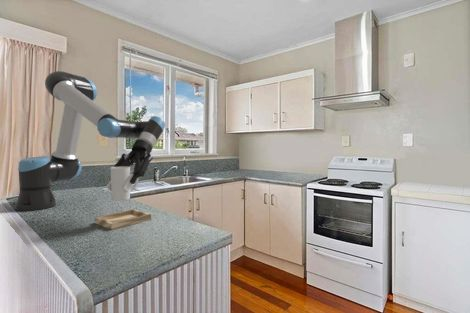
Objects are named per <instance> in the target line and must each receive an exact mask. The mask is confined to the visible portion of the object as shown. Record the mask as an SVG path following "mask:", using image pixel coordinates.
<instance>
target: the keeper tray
mask: <svg viewBox="0 0 470 313" xmlns="http://www.w3.org/2000/svg"><path fill="white" fill-rule="evenodd" d="M150 220H152V214H151V213H148V212H144V211H141V210H137V209H128V210H124V211H119V212H115V213H111V214H105V215H101V216H96V217H94V224H96V225H98V226H101V227H103V228H105V229H109V230H111V231H114V230H118V229H121V228H125V227H128V226H132V225H136V224H140V223H144V222H148V221H150Z"/></svg>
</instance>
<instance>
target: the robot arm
mask: <svg viewBox="0 0 470 313" xmlns="http://www.w3.org/2000/svg"><path fill="white" fill-rule="evenodd" d="M44 81H45V82H44V86H45V89H46V90H47V92H48V93H49V94H50V95H51V96H52V97H54V98H55V99H56V100H58V101H59V102H60V101H61V102H62V103H63V104H64V107H63V112H62V117H61V123H60V128H59V133H58V138H57V143H56V149H55V151H53V152H52V153H51V155H50V156H48V155H46V156H45V155H41V156H33V157H27V158H26V157H25V158H23V159H20V161H18V168H17V170H18V183H19V184H18V185H19V186H18V187H19V192H18V197H17V199H16V202H15V203H14V204H15V205H14V206H15V207H14V208H15V209H14V210H16V211H19V212H22V211H23V212H26V211H27V212H28V211H40V210H44V209H49V208H53V207H55V206H56V205H57V199H56V197H55V195H54V193H53V190H52V183H56V182H63V181H65V182H66V181H67V182H68V181H70V180H74V179H75V178H78V176H79V175H80V174H81V172H82V168H83V167H82V164H81V160H80V159H79V156H78V154H76V153H77V148H78V145H79V144H78V143H79V139H80V134H81V128H82V125H83V119H84V118H85V119H86V120H88V121H89V122H91V124H93V125H94V126H96V127H97V131H98V134H99V135H101V137H104V138H113V139H114V138H123V139H136V140H135V141H134V143H133V145H132V146H131V150H130V152H128V154H127V153H122V154H121V155H120V158H119V159H118V161H117V162H116V163H115V165H114V166H113V167H131V166H133V165H134V168H133V170H134V172H132V173H133V174H130V176H129V178H128V180H127V181H126V183H125V185H124V186H123V189H124V190H125V191H126V192H129V190H130V188H131V187H132V186H133V185H134V184H135V181H136V180H137V178H138V179H139V178H140V177H141V178H143V177H145V174H146V172H147V170H148V168H149V165H150V163H151V162H152V160H153V159H154V158H153V156H152V155H151V152H152V151H153V149H154V147H155V145H156V143H157V142H158V140H159V139H160V137H161V135H162V134H163V132H164V130H165V127H166V122H165V120H164V119H163V118H161V117H160V116H156V115H154V116H151V117H150V118H149V119H148V121H145V120H144V121H134V120H133V121H131V120H124V119H123V120H122V119H118V118H117V117H115V116H114V115H112V114H111V113H110V112H108V111H107V110H106V109H105V108H103V107H101V106H100V105H99V104H98V103H97V102H95V100H96V99H97V95H98V91H97V90H98V89H97V86H96V85H95V83H94V82H93V81H92V80H91V79H89V78H86V77H84V76H81V75H78V74H77V75H76V74H72V73H69V72H66V71H60V70H58V71H57V70H56V71H53V72H51V73H49V74H48V75H47V76H46V78H45V80H44ZM105 188H106V189H107V190H108V192H109V191H110V192H111V178H110V179H109V182H108V183H107V185H106V186H105Z"/></svg>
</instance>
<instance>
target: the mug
mask: <svg viewBox="0 0 470 313" xmlns="http://www.w3.org/2000/svg"><path fill="white" fill-rule="evenodd" d="M132 172H134V169H131V166H129V167H114V166H111V167H110V179H111V191H110V192H111V200H112V201H114V202H120V201H121V202H122V201H128V200H130V198H131V192H133V191H135V190H136V189H137V186H138V183H139V178H137V180H136V181H135V183H134V184H133V185H132V186H131V188H130V190H129V192H126V191H125V190H124V189H123V186H124V185H125V183H126V181H127V180H128V178H129V176H130V175H131V174H133V173H132ZM133 175H134V174H133Z"/></svg>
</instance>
